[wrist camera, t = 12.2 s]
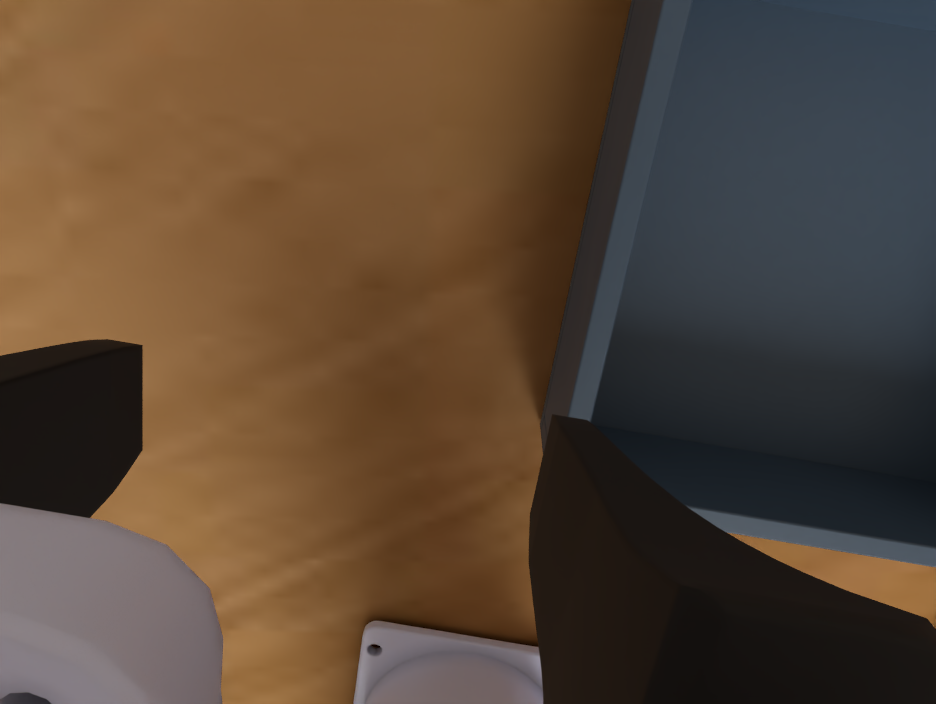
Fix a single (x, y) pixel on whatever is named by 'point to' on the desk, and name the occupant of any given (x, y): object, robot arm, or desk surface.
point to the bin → (767, 269)
